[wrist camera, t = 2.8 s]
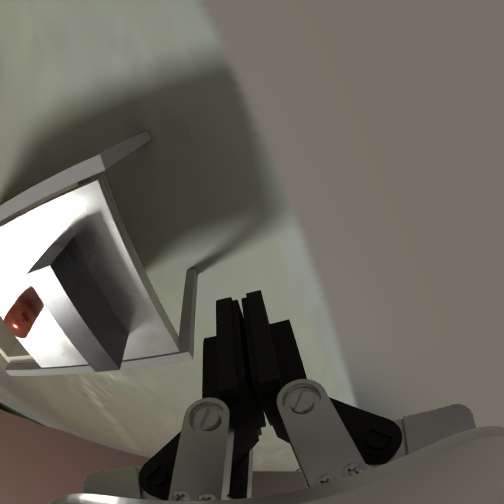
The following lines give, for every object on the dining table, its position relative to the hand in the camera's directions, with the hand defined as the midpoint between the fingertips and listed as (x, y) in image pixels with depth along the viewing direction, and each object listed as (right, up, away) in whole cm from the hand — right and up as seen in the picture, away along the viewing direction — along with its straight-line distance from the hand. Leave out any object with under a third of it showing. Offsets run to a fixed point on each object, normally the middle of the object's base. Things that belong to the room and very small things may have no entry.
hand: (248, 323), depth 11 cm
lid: (-12, 0, +4) cm, 13 cm away
